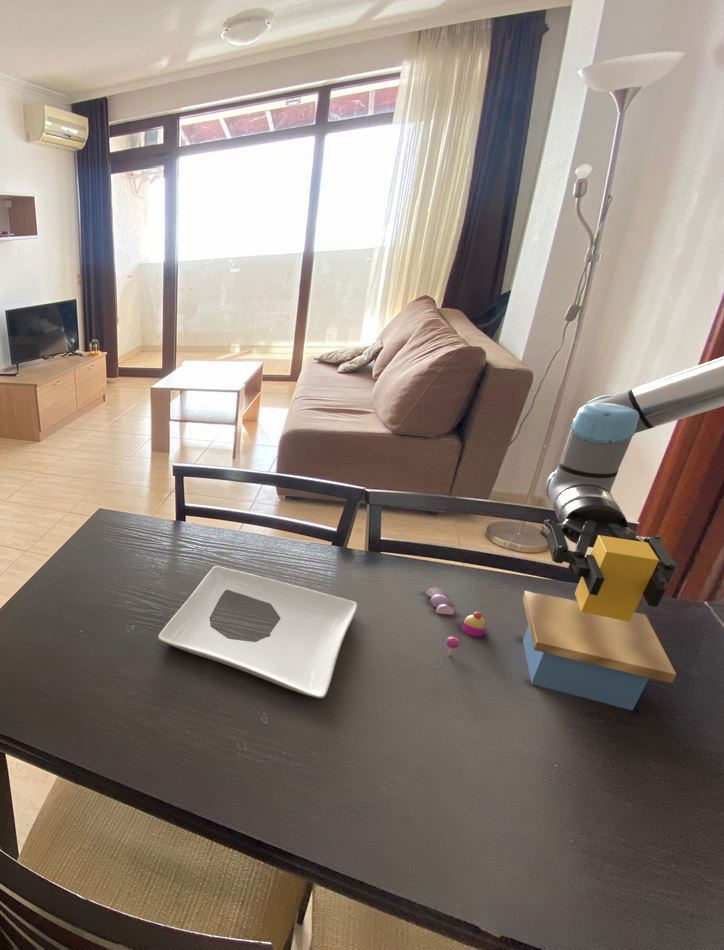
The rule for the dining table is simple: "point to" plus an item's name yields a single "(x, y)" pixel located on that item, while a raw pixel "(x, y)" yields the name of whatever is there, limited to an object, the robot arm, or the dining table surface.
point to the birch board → (596, 637)
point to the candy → (471, 624)
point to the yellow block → (618, 577)
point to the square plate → (291, 641)
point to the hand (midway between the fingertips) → (626, 591)
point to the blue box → (583, 678)
